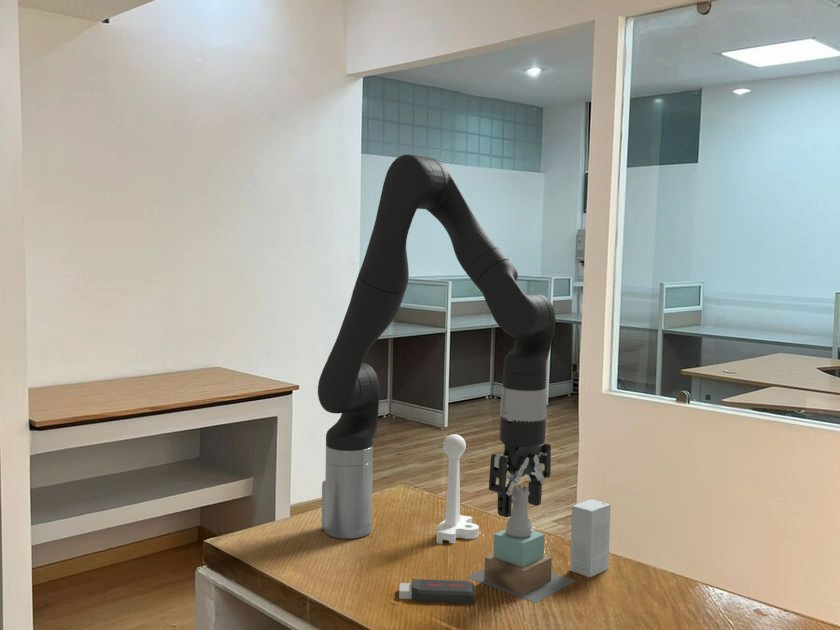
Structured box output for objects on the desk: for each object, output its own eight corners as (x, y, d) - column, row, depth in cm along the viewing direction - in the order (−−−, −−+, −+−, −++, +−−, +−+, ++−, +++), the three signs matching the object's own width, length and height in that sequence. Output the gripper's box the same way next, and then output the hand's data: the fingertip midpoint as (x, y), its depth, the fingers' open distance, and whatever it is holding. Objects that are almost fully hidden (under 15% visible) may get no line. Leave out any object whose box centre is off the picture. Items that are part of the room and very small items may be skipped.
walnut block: (484, 580, 131) (484, 557, 130) (512, 567, 137) (513, 544, 136) (523, 595, 125) (524, 570, 125) (551, 580, 131) (551, 557, 131)
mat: (466, 579, 132) (466, 576, 132) (508, 559, 141) (508, 557, 141) (535, 605, 123) (535, 602, 123) (575, 583, 131) (575, 580, 131)
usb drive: (475, 608, 122) (475, 591, 122) (398, 606, 122) (399, 589, 122) (473, 594, 127) (474, 578, 127) (400, 592, 127) (400, 575, 127)
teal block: (493, 557, 130) (494, 533, 130) (514, 547, 135) (515, 525, 135) (522, 567, 126) (523, 543, 126) (543, 557, 131) (544, 534, 130)
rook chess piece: (531, 539, 128) (533, 492, 127) (504, 537, 129) (505, 489, 128) (532, 530, 132) (534, 484, 132) (506, 528, 133) (507, 482, 132)
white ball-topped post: (451, 524, 159) (453, 427, 158) (486, 530, 156) (489, 431, 155) (431, 542, 149) (433, 439, 147) (468, 548, 146) (471, 443, 144)
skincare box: (588, 563, 140) (590, 498, 139) (609, 570, 137) (611, 504, 136) (568, 572, 136) (571, 505, 135) (589, 580, 133) (592, 511, 132)
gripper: (529, 405, 137) (525, 496, 138) (478, 416, 126) (475, 514, 127) (565, 412, 131) (562, 506, 133) (516, 424, 121) (512, 526, 122)
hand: (519, 510), depth 130 cm, fingers open, 8 cm apart
